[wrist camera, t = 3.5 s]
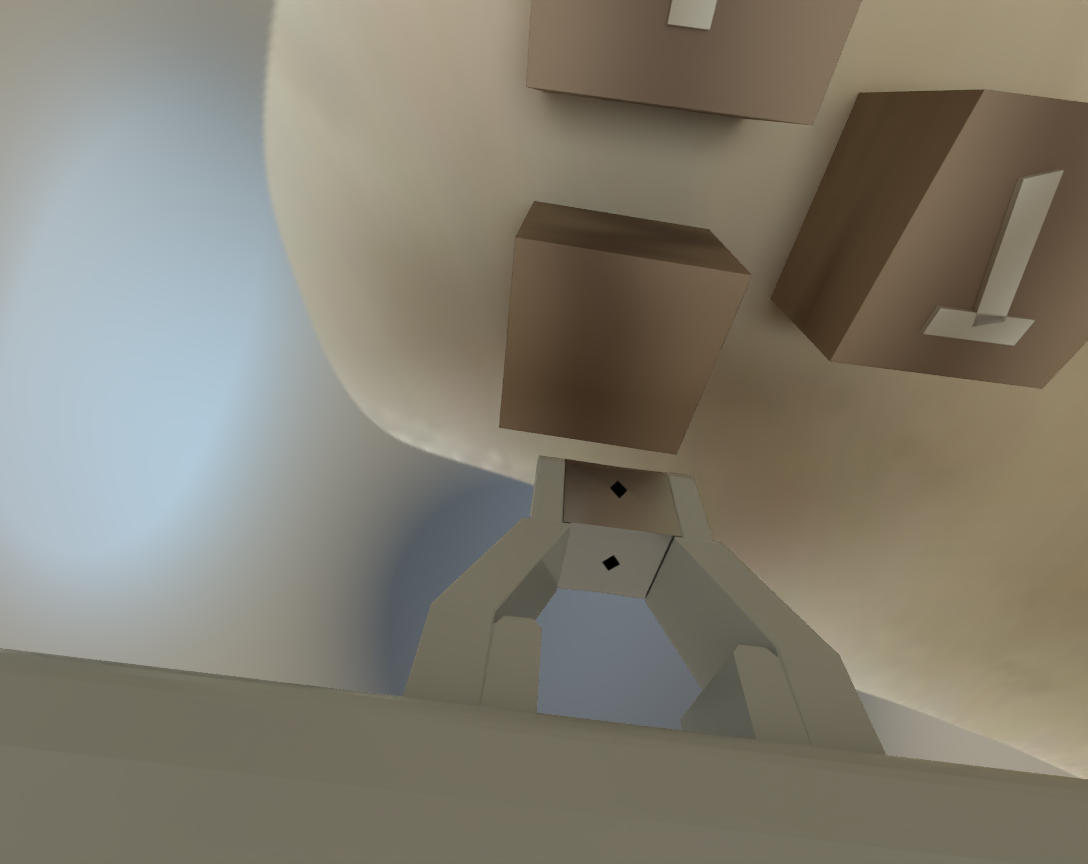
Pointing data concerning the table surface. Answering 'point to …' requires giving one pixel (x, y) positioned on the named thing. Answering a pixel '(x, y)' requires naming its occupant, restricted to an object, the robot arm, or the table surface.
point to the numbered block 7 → (949, 238)
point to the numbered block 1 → (692, 53)
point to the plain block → (614, 326)
